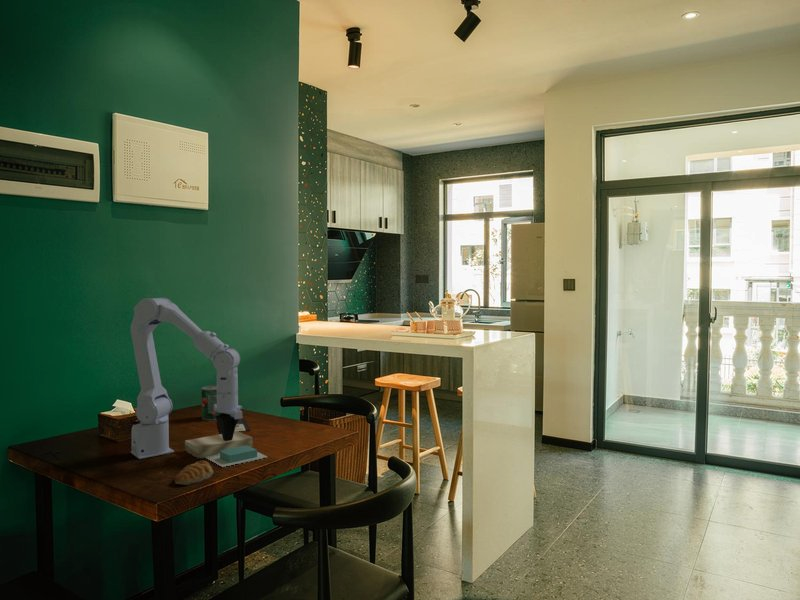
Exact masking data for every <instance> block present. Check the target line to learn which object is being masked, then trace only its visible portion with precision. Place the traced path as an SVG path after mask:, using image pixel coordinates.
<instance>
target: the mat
mask: <svg viewBox="0 0 800 600" xmlns="http://www.w3.org/2000/svg"><path fill="white" fill-rule="evenodd" d="M205 458H206V459H205ZM263 458H266V459H268V458H269V457H268V456H267V455H265V454H264V453H261V452H259V451H257V457H255V458H251V459H246V460H242V461H237V462H232V463H228V462H226V461H224V460H223V459H221V458H220V453H219V454H214V455H209V456H204V458H203V459H205V460H207V459H208V460H207V461H209V460H210V461H209V462H211V461H212V462H214V463H216V464H217V465H216V464H215V465H216V466H218V465H219V466H221V467H225V468H227V467H226V466H230V467H232V466H231V465H234V466H236V465H235V464H239V465H242V464H241V463H243V464H247V463H246V462H248V463H252V462H256V461H255V460H257V461H260V460H259V459H261V460H264V459H263ZM251 461H252V462H251ZM212 462H211V463H212ZM214 463H213V464H214ZM219 466H218V467H219ZM221 467H220V468H221Z"/></svg>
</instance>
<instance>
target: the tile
mask: <svg viewBox="0 0 800 600" xmlns="http://www.w3.org/2000/svg"><path fill="white" fill-rule="evenodd" d="M257 452H258V449H256V448H254V447H253V448H252V447H250V446H248V445H246V446H241V447H236V448H231V449H226V450H221V451H220V458H221V459H223V460H224V461H226V462H228V463H232V462H237V461H242V460H246V459H251V458H255V457H257Z"/></svg>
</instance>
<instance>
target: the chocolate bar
mask: <svg viewBox="0 0 800 600" xmlns="http://www.w3.org/2000/svg"><path fill="white" fill-rule="evenodd" d="M219 427H220V426H219V425H218V428H219ZM219 431H221V429H220V428H219ZM235 431H238V432H239V431H249V432H250V431H251V429H250V427H249V425H248V422H247V420H246V418H245V417H242V418H241V419H239V420H238V422H237V424H236V427H235V430H234V432H235ZM220 434H222V433H221V432H220Z"/></svg>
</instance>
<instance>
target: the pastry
mask: <svg viewBox="0 0 800 600" xmlns="http://www.w3.org/2000/svg"><path fill="white" fill-rule="evenodd" d="M213 474H214V470H213V467H212V466H211V465H210V463H209V462H208V461H206V460H200V461H199V460H198V461H195V463H191V464H188V465H186V466H185V467H183V468H182V470H180V471H179V472H178V473H177V474H176V476H175V477H174V483H175V485H176V484H177V485H184V486H188V485H192V484H193V485H194V484H196V483H201V482H202V480H203V481H205V480H207V479H210V478H211V477H212V476H213ZM204 479H205V480H204Z"/></svg>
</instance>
